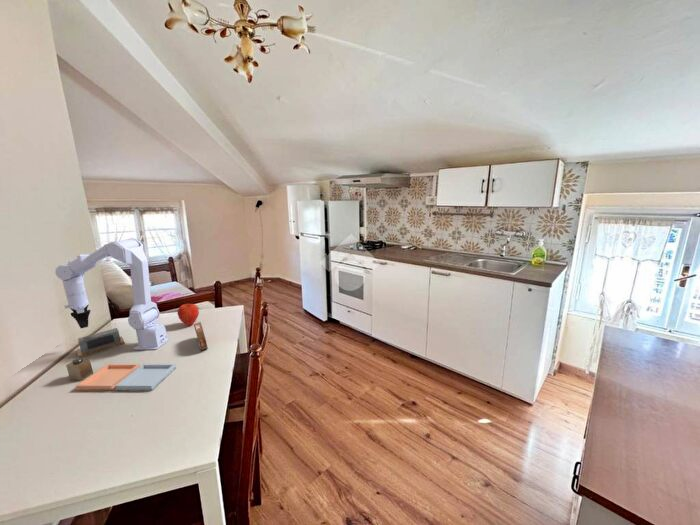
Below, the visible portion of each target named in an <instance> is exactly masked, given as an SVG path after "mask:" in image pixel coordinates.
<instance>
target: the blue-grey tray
mask: <svg viewBox="0 0 700 525" xmlns="http://www.w3.org/2000/svg"><path fill="white" fill-rule="evenodd" d="M176 369H177V365H176V363H143V364H141V365H140V367H139V368H138V369H136V370H135V371H134V372H132V373H131V374H130V375H129V376H127V377H126V378H125V379H123V380H122V381H121V382H120V383H118V384H117V385H116V386H115V387H116V388H115V390H116V391H117V390H129V391H130V392H133V391H135V392H136V391H137V392H139V391H140V392H143V391H144V392H145V391H146V392H153V391H154V390H155V389H156V388H157V387H158V386H159V385H160V384H162V382H164V380H166V379H167V377H169V376H170V375H171V374H172V373H173V372H174V371H175V370H176ZM129 391H128V392H129Z"/></svg>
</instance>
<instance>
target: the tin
mask: <svg viewBox="0 0 700 525" xmlns="http://www.w3.org/2000/svg"><path fill="white" fill-rule="evenodd" d="M193 325H194V326H193V328H194V329H195V334H196V338H197V341H198V346H199V349H200V350H201V351H203V350H206V349H208V344H207V340H206V336H205V332H204V328H203V326H202V322H201V321H199V322H197V323H194V324H193Z"/></svg>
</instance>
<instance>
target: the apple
mask: <svg viewBox="0 0 700 525" xmlns="http://www.w3.org/2000/svg"><path fill="white" fill-rule="evenodd" d="M177 315H178V319H179V320H180V321H181V322H182V323H183V324H184V325H185V326H186V327H187V326H188V327H193V325H194V324H195V322H196V321H197V319H198V317H199V315H200V311H199V308H198V306H197V305H195V304H194V303H184V304H182V305H180V306H179V307H178V309H177Z"/></svg>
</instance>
